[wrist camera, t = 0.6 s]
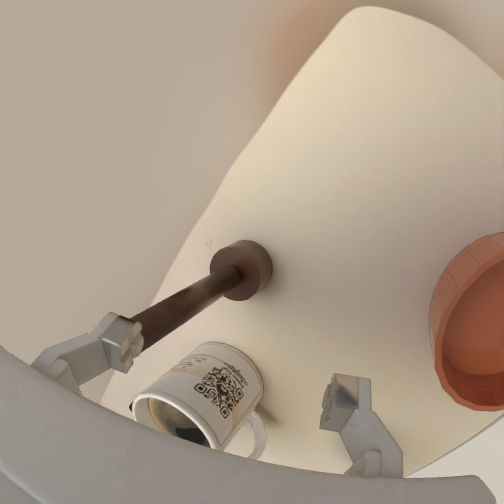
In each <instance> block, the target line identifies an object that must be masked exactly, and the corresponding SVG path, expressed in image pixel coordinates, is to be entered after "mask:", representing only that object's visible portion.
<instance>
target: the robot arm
mask: <svg viewBox="0 0 504 504" xmlns="http://www.w3.org/2000/svg"><path fill="white" fill-rule="evenodd" d="M141 330H142V326H141V323H139V322H136V321H134V320H131V319H128V318H126V317H123V316H121V315H118V314H115V313H113V312H110V313H108V314H107V315H106V316H105V317H104V318H103V319H102V321H101V322H100V323H99V324H98V325H97V326H96V327H95V328H94V330H93V331H92V332H91V333H90V334H88V333H87V334H84V335H81V336H78V337H76V338H73V339H70V340H68V341H65V342H63V343H60V344H57V345H54V346H51V347H49V348H46V349H45V350H44V351H43V352H42V353H41V354H40V355H39V356H38V358H37V359H36V360H35V361H34V362H33V363H32V364H31V365H30V366H29V365H28V364H26V363H25V362H23V361H22V360H20V359H19V358H17V357H15V356H14V355H13V354H11V353H10V352H8V351H7V350H5V349H4V348H3V347H1V346H0V504H496V499H495V496H494V495H493V493H492V492H491V491H490V489H489V488H488V487H487V486H486V485H485V483H484V482H483V481H482V480H481V479H480V478H479V477H478V476H475V475H466V476H454V477H437V478H403V452H402V451H401V449H400V448H399V446H398V445H397V443H396V442H395V440H394V439H393V438H392V436H391V435H390V433H389V432H388V430H387V429H386V427H385V426H384V424H383V423H382V422H381V420H380V419H379V417H378V416H377V414H376V413H375V412H372V410H371V381H370V379H367V378H361V377H355V376H349V375H343V374H337V373H334V374H333V376H332V378H331V383H330V384H329V385H328V386H327V388H326V390H325V394H324V397H323V403H322V407H323V409H324V411H323V412H322V414H321V419H320V428H319V429H324V430H330V431H335V432H339V434H340V437H341V439H342V441H343V443H344V445H345V447H346V449H347V451H348V453H349V455H350V457H351V460H352V462H353V465H352V466H351V467H350V468H349V469H348V470H347V471H346V472H345V473H344V474H343V475H342V474H333V473H325V472H317V471H311V470H304V469H298V468H292V467H287V466H282V465H276V464H272V463H267V462H262V461H258V460H254V459H249V458H245V457H241V456H237V455H234V454H230V453H226V452H223V451H219V450H216V449H212V448H209V447H206V446H203V445H199V444H196V443H193V442H190V441H187V440H184V439H181V438H178V437H175V436H173V435H170V434H167V433H164V432H162V431H159V430H156V429H154V428H151V427H149V426H146V425H144V424H141V423H139V422H137V421H134V420H132V419H130V418H127V417H125V416H123V415H120V414H118V413H116V412H114V411H112V410H110V409H107V408H105V407H103V406H101V405H99V404H97V403H95V402H93V401H91V400H89V399H87V398H85V397H83V394H82V393H81V390H80V388H79V385H81V384H83V383H85V382H87V381H89V380H90V379H92V378H94V377H96V376H98V375H100V374H101V373H103V372H105V371H106V370H108V369H110V368H113V369H115V370H118V371H120V372H123V373H126V374H127V372H128V371H129V369H130V368H131V366H132V365H133V358H135V357H138V356H139V354H140V353H141V351H142V348H143V344H144V338H143V336H142V334H141V333H140V331H141Z"/></svg>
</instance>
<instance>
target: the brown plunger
mask: <svg viewBox="0 0 504 504" xmlns="http://www.w3.org/2000/svg"><path fill="white" fill-rule="evenodd" d="M271 274H272V263H271V260H270V257H269V255H268V253H267V252H266V251H265V249H264V248H263V247H262V246H260V245H259V244H257V243H255V242H253V241H248V240H243V241H238V242H236V243H234V244H231V245H229V246H227V247H225V248H222V249H220V250H219V251H218V252H217V253H216V254H215V255H214V256H213V258H212V260H211V264H210V275H208V276H207V277H205V278H203V279H201V280H199V281H197V282H196V283H194V284H192V285H190V286H188V287H187V288H185V289H183V290H181V291H179V292H177V293H176V294H174V295H172V296H170V297H168V298H166V299H165V300H163V301H161V302H159V303H157V304H156V305H154V306H152V307H150V308H148V309H146V310H145V311H143V312H141V313H139V314H137V315H135V316H134V317H132V318H130V319H131V320H134V321H136V322H139V323H141V326H142V330H141V331H140V333H141V334H142V336H143V338H144V344H143V348H142V351H141V352H143V351H144V350H146V349H147V348H149V347H150V346H152V345H153V344H155V343H156V342H157V341H159V340H160V339H162V338H163V337H165V336H166V335H168V334H169V333H171V332H172V331H174V330H175V329H176V328H178V327H179V326H181V325H182V324H184V323H185V322H187V321H188V320H189V319H191V318H192V317H194V316H195V315H197V314H198V313H200V312H201V311H202V310H204V309H205V308H207V307H208V306H210V305H211V304H212V303H214V302H215V301H217V300H218V299H220V298H221V297H222V296H224V297H226V298H228V299H231V300H234V301H243V300H247V299H249V298H251V297H252V296H253V295H254V294H256V293H257V292H258V291H259V290H260V289H262V288H263V287H264V286H265V285H266V284H267V283H268V281H269V280H270V277H271Z"/></svg>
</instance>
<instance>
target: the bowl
mask: <svg viewBox="0 0 504 504" xmlns="http://www.w3.org/2000/svg"><path fill="white" fill-rule="evenodd" d="M429 329H430V340H431V346H432V353H433V359H434V366H435V370H436V372H437V375H438V378H439V380H440V383H441V386H442V388H443V389H444V390H445V391H446V392H447V393H448V394H449V395H450V396H451V397H452V399H453V400H454V401H455V402H457V403H459V404H461V405H463V406H465V407H468V408H470V409H472V410H476V411H499V410H503V409H504V232H502V233H495V234H491V235H488V236H485V237H483V238H481V239H479V240H476V241H475V242H473V243H472V244H470V245H469V246H467V247H466V248H465V249H464V250H462V251H461V252H460V253H459V254H458V255H457V256H456V257H455V258H454V259H453V260H452V261H451V263H450V264H449V265H448V267H447V268H446V269H445V271H444V273H443V274H442V276H441V278H440V279H439V282H438V284H437V286H436V288H435V291H434V294H433V297H432V301H431V305H430V313H429Z"/></svg>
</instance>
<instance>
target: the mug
mask: <svg viewBox="0 0 504 504" xmlns="http://www.w3.org/2000/svg"><path fill="white" fill-rule="evenodd" d="M262 394H263V383H262V379H261V376H260V374H259V372H258V370H257V368H256V367H255V365H254V364H253V363H252V362H251V361H250V360H249V359H248V358H247V357H246V356H245V355H244V354H243V353H241V352H240V351H238V350H237V349H235V348H233V347H231V346H228V345H225V344H221V343H206V344H203V345H200V346H199V347H197V348H196V349H195V350H193V351H192V352H191V353H190V354H189V355H187V356H186V357H185V358H184V359H182V360H181V361H180V362H179V363H178V364H176V365H175V366H174V367H173V368H172V369H170V370H169V371H168V372H167V373H165V374H164V375H163V376H162V377H161V378H159V379H158V380H157V381H156V382H154V383H153V384H152V385H151V386H149V387H148V388H147V389H146V390H144V391H143V392H142V393H141V394H139V395H138V396H137V397H136V398H135V400H134V402H133V405H132V413H133V417H134V420H135V421H137V422H139V423H141V424H144V425H146V426H149V427H151V428H154V429H156V430H159V431H162V432H164V433H167V434H170V435H173V436H175V437H178V438H181V439H184V440H187V441H190V442H193V443H196V444H199V445H203V446H206V447H209V448H212V449H216V450H219V451H223V452H224V450H225V449H226V448H227V446H228V445H229V444H230V442H231V441H232V439H233V438H234V437H235V435H236V434H237V433H238V431H239V430H240V428H241V427H242V426H243V424H244V423H245V421H246V420H248V421H249V423H250V424H251V425H252V427H253V429H254V432H255V446H254V449H253V451H252V453H251V454H250V456H249V457H248V458H249V459H254V460H257V459H258V458H259V457H260V455H261V454H262V452H263V450H264V448H265V445H266V439H267V434H266V428H265V425H264V423H263V421H262V419H261V417H260V416H259V415H258V414H257V413H256V412H255V411H254V408H255V407H256V405H257V404H258V403H259V401H260V400H261V397H262Z"/></svg>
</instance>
